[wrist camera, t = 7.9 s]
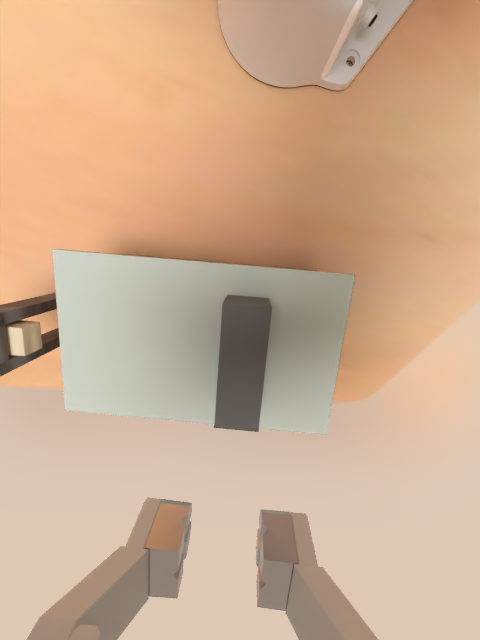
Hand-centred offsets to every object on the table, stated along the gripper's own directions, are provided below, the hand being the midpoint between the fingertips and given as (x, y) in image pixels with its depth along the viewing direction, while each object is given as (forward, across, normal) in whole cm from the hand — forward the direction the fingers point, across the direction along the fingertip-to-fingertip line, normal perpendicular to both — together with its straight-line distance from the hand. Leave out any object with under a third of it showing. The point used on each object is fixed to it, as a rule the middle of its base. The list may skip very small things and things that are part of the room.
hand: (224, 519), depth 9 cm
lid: (+17, +4, 0) cm, 18 cm away
